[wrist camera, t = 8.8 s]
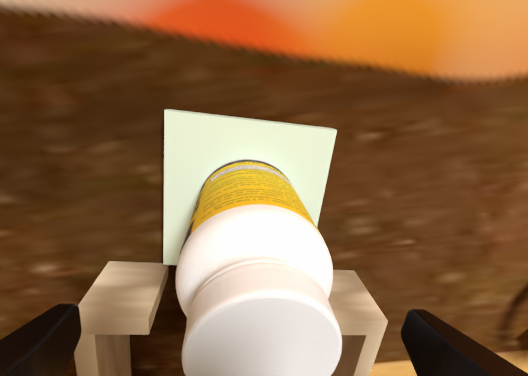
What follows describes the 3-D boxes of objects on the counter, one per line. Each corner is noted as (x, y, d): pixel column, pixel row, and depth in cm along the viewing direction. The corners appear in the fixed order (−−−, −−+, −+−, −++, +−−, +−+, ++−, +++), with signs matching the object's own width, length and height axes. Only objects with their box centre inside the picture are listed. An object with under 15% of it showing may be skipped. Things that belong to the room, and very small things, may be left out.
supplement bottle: (187, 165, 15) (116, 291, 6) (287, 147, 15) (373, 241, 6) (209, 251, 17) (183, 450, 8) (297, 234, 17) (375, 406, 8)
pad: (332, 128, 16) (337, 130, 15) (304, 262, 19) (308, 270, 18) (167, 109, 14) (164, 110, 14) (166, 257, 17) (163, 264, 17)
